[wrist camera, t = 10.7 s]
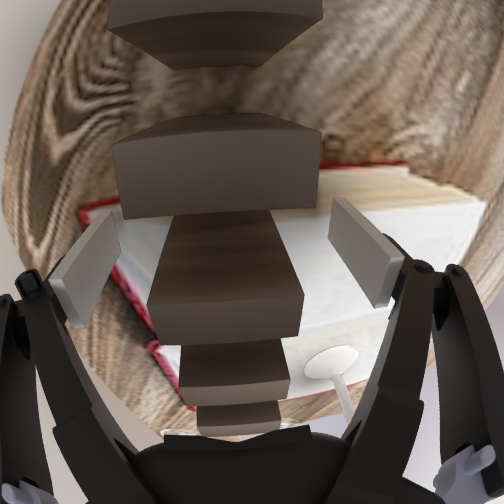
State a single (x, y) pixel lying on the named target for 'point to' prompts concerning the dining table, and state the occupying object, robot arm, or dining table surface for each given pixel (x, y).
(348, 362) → the champagne flute
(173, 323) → the domino
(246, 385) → the domino
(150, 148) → the domino
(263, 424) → the domino
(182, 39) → the domino
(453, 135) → the dining table surface
